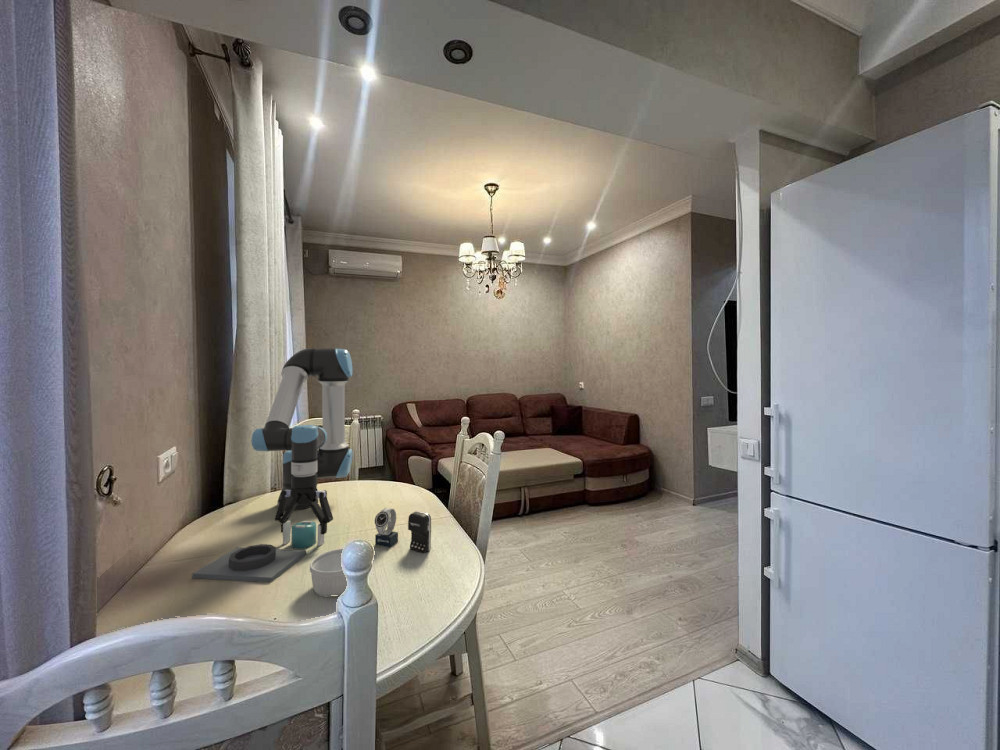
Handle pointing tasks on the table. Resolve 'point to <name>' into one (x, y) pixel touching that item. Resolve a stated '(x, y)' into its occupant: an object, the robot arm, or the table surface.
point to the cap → (303, 535)
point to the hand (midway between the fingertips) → (303, 543)
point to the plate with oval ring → (251, 564)
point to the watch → (381, 522)
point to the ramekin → (328, 574)
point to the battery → (420, 531)
